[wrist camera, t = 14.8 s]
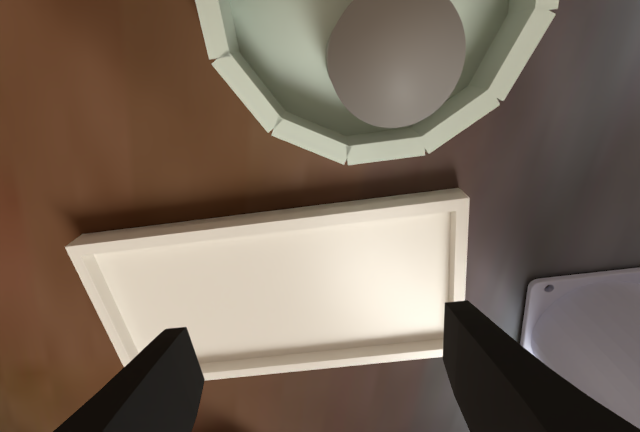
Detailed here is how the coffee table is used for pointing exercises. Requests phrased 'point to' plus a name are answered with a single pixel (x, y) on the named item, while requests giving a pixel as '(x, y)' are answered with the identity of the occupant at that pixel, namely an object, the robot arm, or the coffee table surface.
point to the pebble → (396, 59)
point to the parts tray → (286, 283)
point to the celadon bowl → (316, 87)
